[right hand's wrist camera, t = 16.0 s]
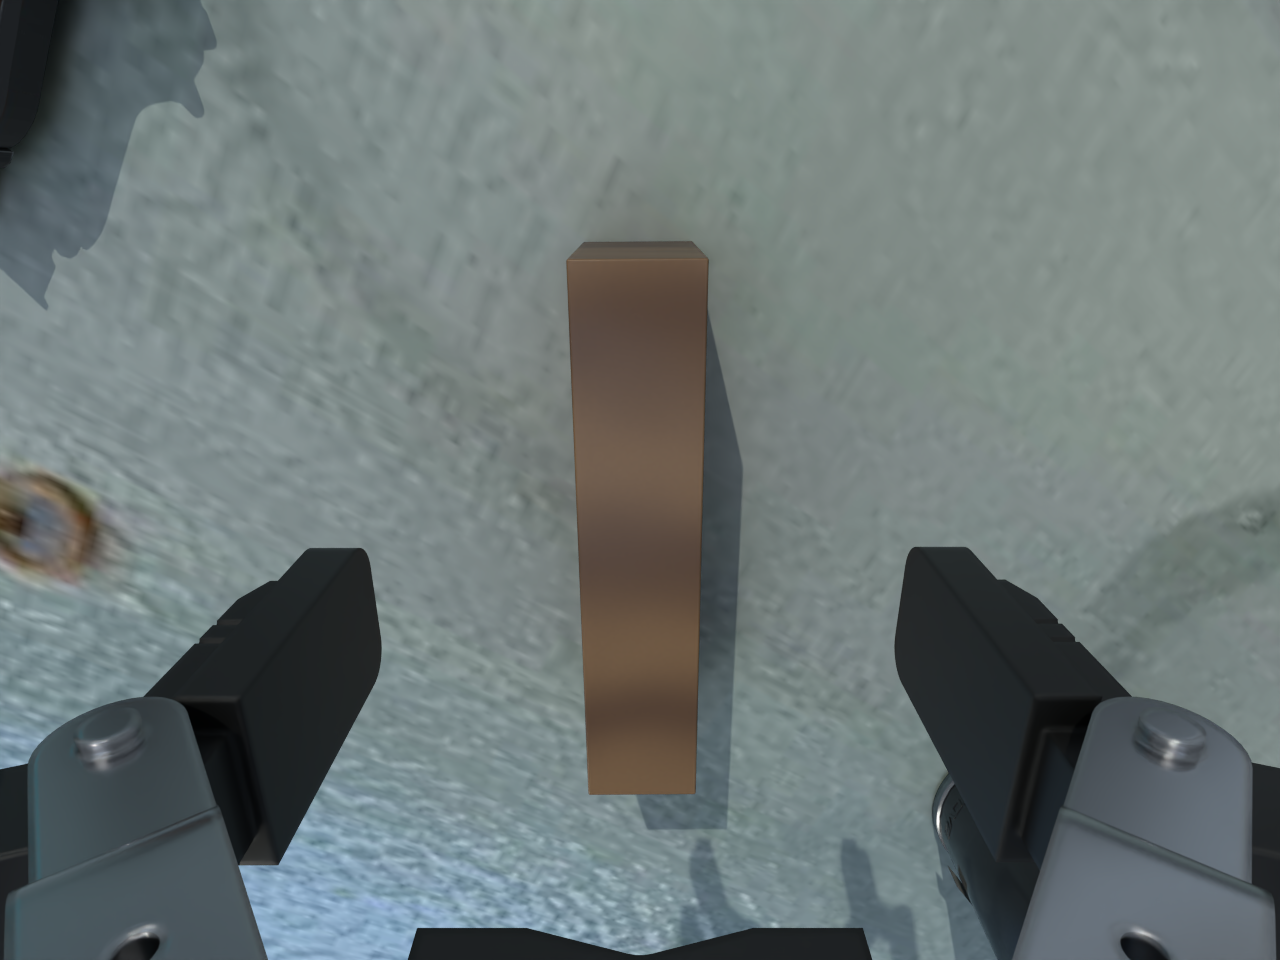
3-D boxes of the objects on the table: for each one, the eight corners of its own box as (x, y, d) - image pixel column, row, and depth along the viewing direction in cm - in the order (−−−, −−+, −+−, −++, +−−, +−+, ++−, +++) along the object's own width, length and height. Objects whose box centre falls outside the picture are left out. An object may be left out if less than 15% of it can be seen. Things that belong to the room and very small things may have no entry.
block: (582, 242, 32) (566, 259, 25) (692, 241, 32) (708, 258, 25) (597, 683, 40) (588, 795, 33) (685, 683, 40) (695, 794, 33)
